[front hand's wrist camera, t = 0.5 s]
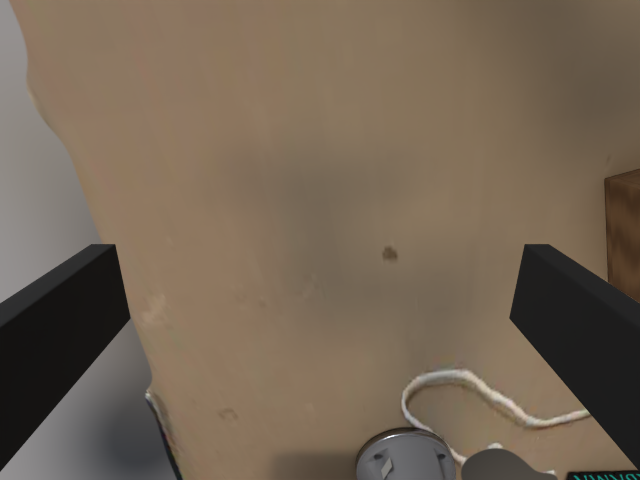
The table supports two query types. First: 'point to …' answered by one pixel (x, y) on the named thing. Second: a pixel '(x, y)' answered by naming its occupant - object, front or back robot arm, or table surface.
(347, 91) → the table surface
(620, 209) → the chest
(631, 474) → the decorative sign
